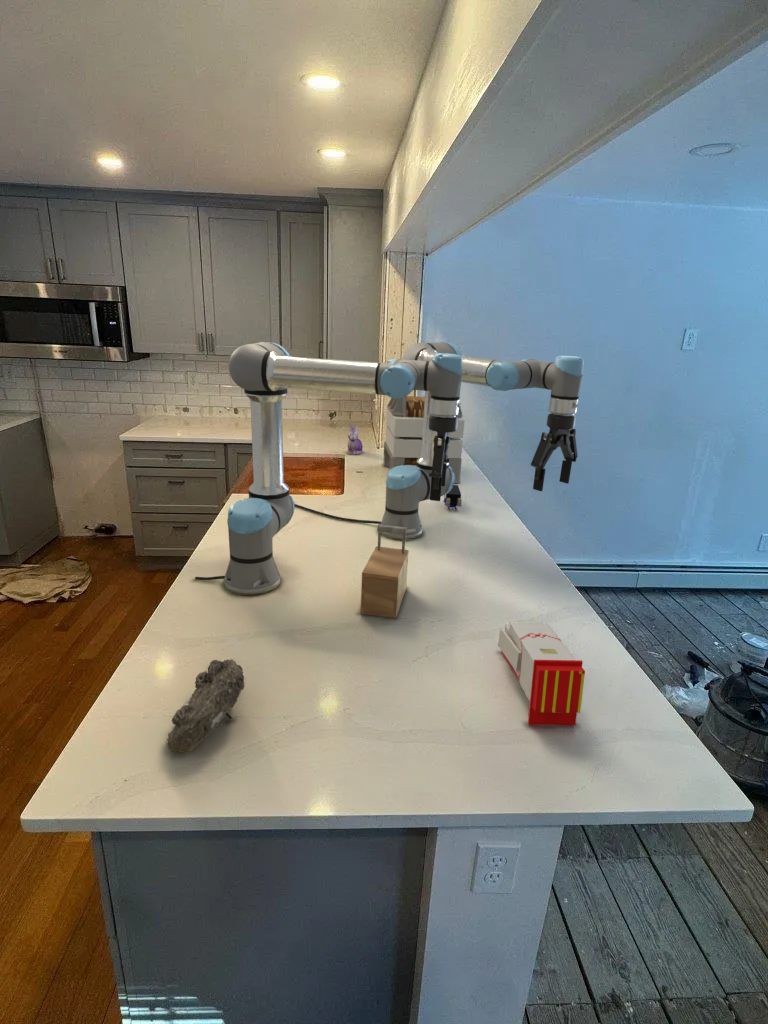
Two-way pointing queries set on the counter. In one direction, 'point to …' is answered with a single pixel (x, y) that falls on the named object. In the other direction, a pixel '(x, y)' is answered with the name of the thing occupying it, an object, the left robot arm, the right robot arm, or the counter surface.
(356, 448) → the figurine
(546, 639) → the toy
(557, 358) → the right robot arm
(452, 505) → the figurine character
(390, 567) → the lid
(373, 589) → the chest
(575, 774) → the counter surface
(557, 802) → the counter surface
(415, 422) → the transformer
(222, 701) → the fossil
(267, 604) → the counter surface
